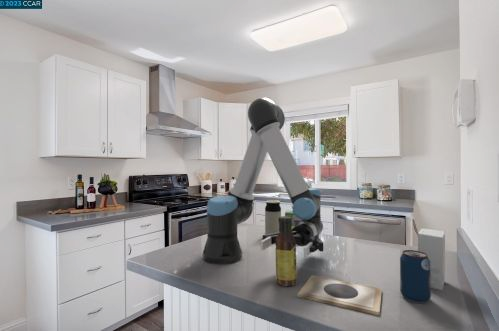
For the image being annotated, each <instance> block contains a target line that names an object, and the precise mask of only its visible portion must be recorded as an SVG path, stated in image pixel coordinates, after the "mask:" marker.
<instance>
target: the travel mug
mask: <svg viewBox="0 0 499 331" xmlns="http://www.w3.org/2000/svg"><path fill="white" fill-rule="evenodd" d="M265 203H266V204H265V207H264V209H265V210H264V230H265V231H264V235H266V234H271V233H277V232H280V231H279V217H282V207H281V206H280V204H281V201H280V200H278V199H277V200H274V199H272V200H271V199H270V200H269V199H268V200H266V201H265Z"/></svg>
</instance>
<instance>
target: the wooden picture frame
mask: <svg viewBox="0 0 499 331" xmlns="http://www.w3.org/2000/svg"><path fill="white" fill-rule="evenodd" d="M382 294H383V288H380V287H375V286H369V285H364V284H358V283H352V282H349V281H343V280H342V281H341V280H337V279H332V278H327V277H323V276H316V275H310V277H309V279H308V280H307V281H306V283H304V285H303V286H302V287H301V289H300V290H299V292H297V297H298V298H302V299H307V300H309V301H315V302H320V303H323V304H329V305H332V306H336V307H342V308H346V309H351V310H353V311H354V310H355V311H357V312H362V313H365V314H371V315H375V316H380V315H381V314H380V311H381V303H382Z"/></svg>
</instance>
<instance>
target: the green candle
mask: <svg viewBox="0 0 499 331" xmlns="http://www.w3.org/2000/svg"><path fill="white" fill-rule="evenodd" d="M291 209H292V210H285V213H284V216H288V217H291V218H292V222H291V223H294V224H293V225H292V226H291V228H292V227H294V226H296V225H298V224H299V223H301V219H299V218H298V217H296V216H295V214H294V212H293V204H291Z"/></svg>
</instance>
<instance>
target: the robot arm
mask: <svg viewBox="0 0 499 331" xmlns="http://www.w3.org/2000/svg"><path fill="white" fill-rule="evenodd" d="M247 109H248V110H247V118H248V120H249V123H250V128H249V131H250V134H251V135H250V136H251V137H250V138H249V142H248V145H247V149H246V150H245V154H244V157H243V159H242V163H241V166H240V169H239V171H238V174H237V177H236V180H235V182H234V186H233V187H230V189H228V193H227V195H219V196H213V197H211V198H209V199H208V201H207V206H206V212H207V213H206V223H207V224H206V229H207V232H206V233H207V238H206V241H205V245H204V248H203V251H202V260H203V261H204V262H207V263H210V264H213V265H226V264H232V263H235V262H239V261H240V260H242V258H243V251H242V247H241V245H240V242H239V238H238V225H239V224H241V223H244V222H247V220H249V218H250V217H251V216H252V214H253V210H254V205H253V203H254V201H255V197H254V194H253V193H254V190H255V188H256V185H257V182H258V178H259V177H260V173H261V170H262V168H263V164H264V162H265V159H266V158H267V157H266V156H267V154H268V156H269V159H271V162H272V164H273V166H274V168H275V169H276V172H277V174H278V177H279V179H280V181H281V183H282V185H283V187H284V188H285V190H286V193H287V195H288V197H289V199H290V202H291V205H293V209H292V211H293V212H294V214H295V216H296V217H298V218H299V219H301V223H299V224H298V225H296V226H295V227H294V228H293V229H292V233H293V236H294V239H295V242H296V246H299V247H303V258H308V257H309V256H310V255H311V254H312V253H315V252H317V251H319V252H324V242H323V240H321V238H320V235H321V233H322V231H323V229H324V225H323V224H324V222H322V219H321V218H322V217H321V216H322V214H321V199H322V197H321V190H320V189H319V188H316V187H315V188H313V187H311V188H309V187H308V184H307V182H306V180H305V178H304V176H303V174H302V172H301V170H300V168H299V166H298V163H297V162H296V160H295V157H294V156H293V154H292V151H291V149H290V148H289V145H288V144H287V142H286V140H285V137H284V135H283V134H282V132H281V130H282V129H283V127H284V125H285V121H286V119H285V118H286V117H285V113H284V111H283V109H282V108H281V107H280V106H279V105H278V104H276V103H275V102H274V101H273V100H271V99H269V98H267V97H259V98H257V99H255V100H253V101H252V102H251V103H250V104H249V106H248V108H247ZM278 234H279V232H277V233H271V234H266V235H265V234H263V235H262V240H261V241H260V251H265V250H266V249H267V248H269V247H271V246H272V245H273V244H274V245H276V238H277V236H278Z"/></svg>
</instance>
